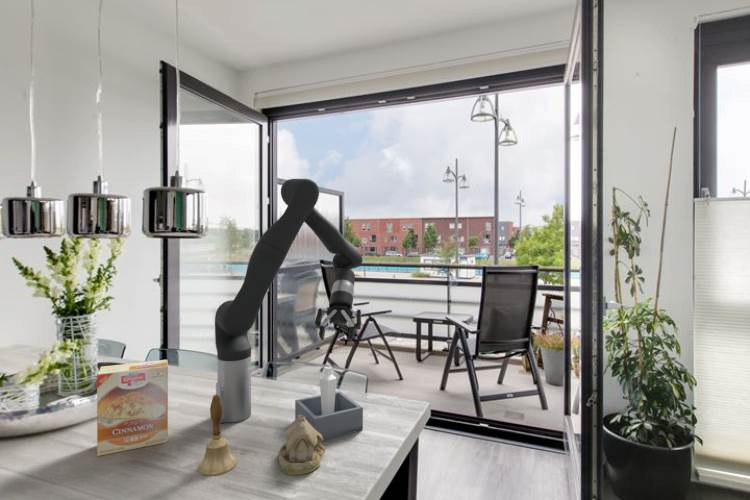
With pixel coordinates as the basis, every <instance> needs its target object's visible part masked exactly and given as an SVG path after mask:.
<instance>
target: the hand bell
mask: <svg viewBox="0 0 750 500" xmlns="http://www.w3.org/2000/svg"><path fill="white" fill-rule="evenodd" d="M209 411H210V412H209V413H210V419H211V422H212V438H211V440H209V441H208V442H207V443H206V447H205V454H204V457H203V459H202V460H201V461H200V462H199V464H198V466H197V472H198V473H199V475H202V476H208V477H212V476H214V477H215V476H219V475H223V474H225V473H227V472H229V471H231V470H234V468H235V467H236V465H237V462H238V461H237V458H236V457H235V456H234V455H232V454H231V452H230V448H229V443H228V440H227V439H226V438H224V437H222V433H221V430H222V429H221V423H220V421H221V417H222V403H221V400H220V397H219V395H216V394H214V395H212V399H211V402H210V408H209Z"/></svg>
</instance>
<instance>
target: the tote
mask: <svg viewBox="0 0 750 500" xmlns="http://www.w3.org/2000/svg"><path fill="white" fill-rule="evenodd" d="M294 408H295V409H294V420H295V419H296V418H297V417H298V415H304V416H305V419H306V420H307V421H308V423H310V425H311V426H312V427H313V428H314V429H315V430H316V431H317V432H319V433H320V434H321V435H322V437H323V441H325V440H329V439H333V438H336V437H340V436H344V435H348V434H352V433H355V432H359V431H362V430H363V429H364V428H363V427H364V426H363V425H364V408H363V407H362V406H361V405H360V404H358V403H357V402H355V400H353V399H352V398H351V397H349V396H348V395H346V394H345V393H343V392H342V391H341V390H339V391H335V404H334V413H330V414H326V415H322V407H321V394H319V395H314V396H311V397H310V396H309V397H305V398H304V397H303V398H299V399H295V400H294Z"/></svg>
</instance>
